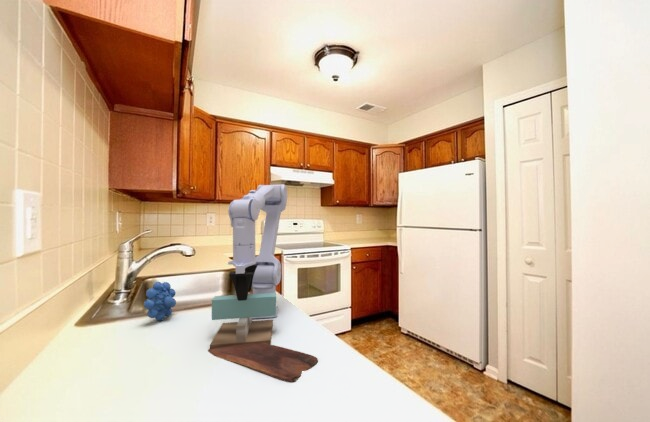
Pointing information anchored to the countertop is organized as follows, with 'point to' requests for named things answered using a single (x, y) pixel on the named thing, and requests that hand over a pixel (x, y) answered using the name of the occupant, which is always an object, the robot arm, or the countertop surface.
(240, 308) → the teal rectangular bar
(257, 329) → the ridge
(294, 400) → the countertop surface
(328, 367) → the countertop surface
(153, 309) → the grapes
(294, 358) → the wooden tablet
